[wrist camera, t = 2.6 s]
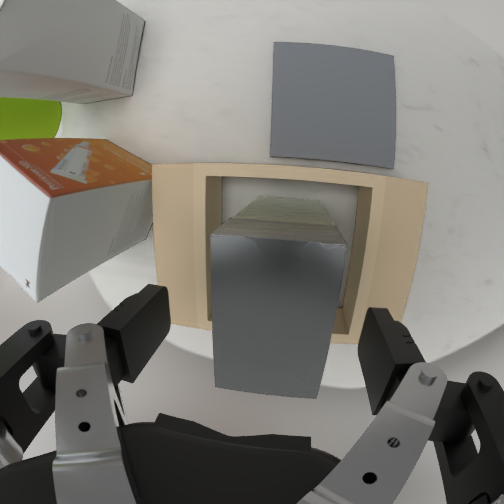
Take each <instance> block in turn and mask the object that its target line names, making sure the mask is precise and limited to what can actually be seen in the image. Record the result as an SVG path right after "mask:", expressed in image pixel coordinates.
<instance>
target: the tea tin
mask: <svg viewBox="0 0 504 504" xmlns="http://www.w3.org/2000/svg"><path fill="white" fill-rule="evenodd" d="M346 249H347V244H346V242H345V241H344V239H343V237H342V235H341V234H340V232H339V230H338V228H337V227H336V226H334V224H333V223H332V221H331V219H330V217H329V215H328V214H327V212H326V210H325V208H324V207H323V205H322V203H321V201H320V200H309V199H296V198H283V197H268V196H259V197H257V198H256V199H255V200H254V201H253V202H251V203H250V204H249V205H248V206H247V207H245V208H244V209H243V210H242V211H240V212H239V213H238V214H237V215H236V216H234V217H233V218H230V219H228V220H227V221H226V222H225V223H223V224H222V225H221V226H220V227H219V228H217V229H216V230H215V231H214V232H212V233H211V234H210V250H211V305H212V334H213V356H214V375H215V387H218V388H224V389H230V390H236V391H244V392H251V393H258V394H266V395H276V396H287V397H298V398H314V399H316V398H317V395H318V391H319V387H320V383H321V379H322V375H323V371H324V367H325V363H326V359H327V354H328V350H329V345H330V341H331V336H332V331H333V326H334V321H335V316H336V311H337V306H338V300H339V294H340V288H341V282H342V276H343V270H344V263H345V256H346Z"/></svg>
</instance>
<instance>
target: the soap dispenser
mask: <svg viewBox="0 0 504 504" xmlns="http://www.w3.org/2000/svg"><path fill="white" fill-rule="evenodd" d="M60 121H61V104H60V101H53V100H42V99H29V98H10V97H0V140H9V139H33V138H54V137H55V135H56V133H57V131H58V129H59V125H60Z"/></svg>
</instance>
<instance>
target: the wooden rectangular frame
mask: <svg viewBox="0 0 504 504" xmlns="http://www.w3.org/2000/svg"><path fill="white" fill-rule="evenodd" d="M222 176H233V177H258V178H277V179H292V180H305V181H317V182H328V183H338V184H347V185H356V186H359V193H358V203H357V213H356V222H355V231H354V238H353V246H352V253H351V260H350V266H349V273H348V279H347V285H346V291H345V296H344V302H343V307H342V308H337V311H336V316H335V321H334V326H333V331H332V336H331V341H330V343H343V344H358V343H359V338H360V335H361V331H362V327H363V324H364V320H365V316H366V312H367V309H368V308H369V307H376V308H387V309H388V310H389V312H390V314H391V315H392V317H393V319H394V321H399V322H400V323H401V320H402V317H403V314H404V310H405V306H406V303H407V299H408V295H409V291H410V287H411V283H412V279H413V275H414V270H415V266H416V261H417V256H418V251H419V246H420V240H421V234H422V228H423V222H424V215H425V207H426V199H427V190H428V183H425V182H419V181H413V180H408V179H401V178H395V177H389V176H382V175H376V174H370V173H362V172H354V171H345V170H336V169H326V168H315V167H303V166H289V165H272V164H248V163H175V164H152V203H153V229H154V246H155V260H156V273H157V283H158V285H159V286H165V287H167V289H168V294H169V306H170V317H171V324H175V325H181V326H187V327H193V328H199V329H205V330H212V305H211V250H210V234H211V233H212V232H214V231H215V230H216V229H217V228H219V227H220V226H221V219H222Z"/></svg>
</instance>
